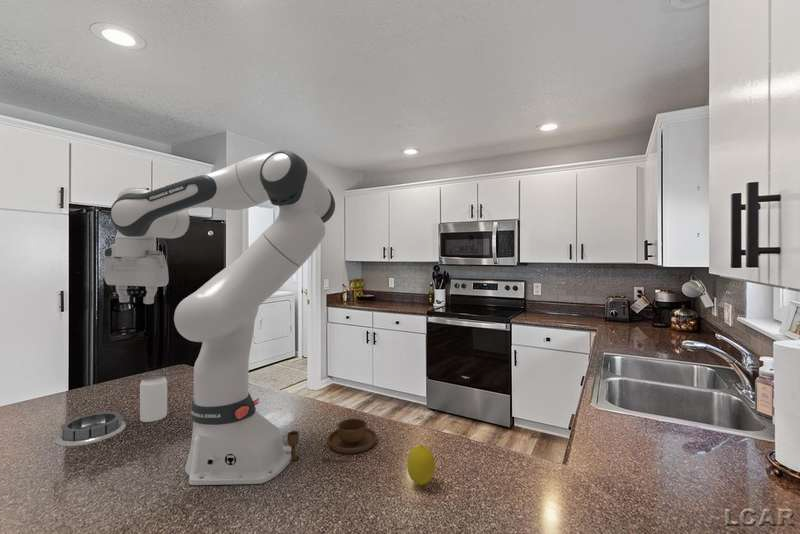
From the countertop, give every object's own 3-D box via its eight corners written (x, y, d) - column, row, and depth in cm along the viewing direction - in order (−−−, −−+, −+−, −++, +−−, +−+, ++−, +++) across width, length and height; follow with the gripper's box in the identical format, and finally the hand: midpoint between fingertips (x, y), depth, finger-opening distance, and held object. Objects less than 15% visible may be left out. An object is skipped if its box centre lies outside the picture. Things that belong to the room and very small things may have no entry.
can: (153, 424, 102) (153, 380, 102) (134, 422, 104) (134, 379, 104) (172, 415, 109) (172, 374, 109) (153, 413, 110) (153, 372, 110)
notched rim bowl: (138, 424, 102) (138, 412, 102) (88, 448, 88) (88, 434, 88) (95, 420, 105) (95, 409, 105) (39, 444, 91) (39, 430, 91)
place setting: (374, 462, 82) (374, 436, 82) (284, 464, 82) (284, 437, 82) (377, 428, 100) (377, 406, 100) (303, 429, 100) (303, 407, 100)
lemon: (427, 497, 70) (427, 454, 70) (402, 487, 73) (402, 447, 73) (439, 482, 75) (439, 442, 75) (415, 474, 78) (415, 436, 78)
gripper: (175, 250, 97) (175, 303, 98) (123, 251, 105) (123, 300, 105) (151, 250, 92) (151, 305, 92) (98, 250, 99) (98, 302, 99)
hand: (136, 303), depth 98 cm, fingers open, 8 cm apart
